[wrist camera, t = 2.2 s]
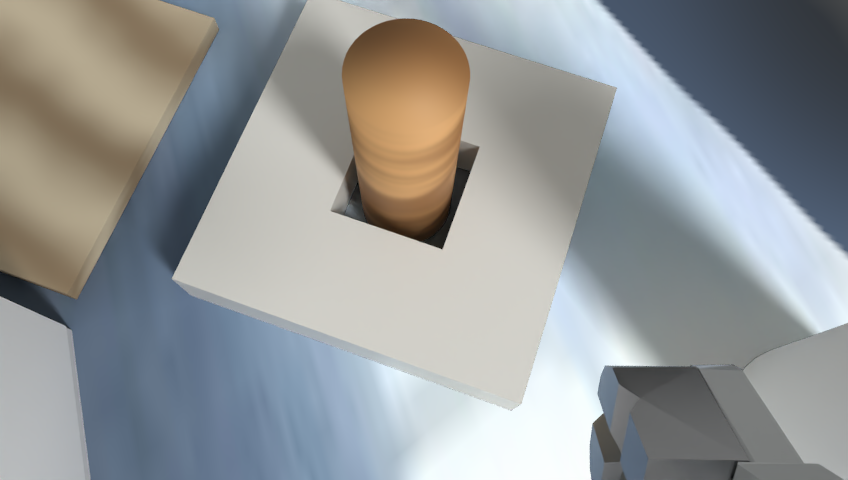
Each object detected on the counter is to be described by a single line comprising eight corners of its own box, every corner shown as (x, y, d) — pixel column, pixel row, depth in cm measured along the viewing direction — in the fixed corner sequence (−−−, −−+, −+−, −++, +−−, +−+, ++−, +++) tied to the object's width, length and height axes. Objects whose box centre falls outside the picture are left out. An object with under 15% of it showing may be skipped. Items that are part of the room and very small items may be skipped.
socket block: (511, 410, 33) (521, 403, 30) (191, 295, 34) (171, 278, 31) (601, 117, 38) (616, 87, 35) (318, 27, 39) (311, -9, 36)
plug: (433, 255, 35) (446, 147, 24) (349, 227, 35) (322, 106, 24) (461, 178, 36) (486, 40, 25) (380, 151, 37) (369, 3, 25)
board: (76, 299, 34) (67, 294, 33) (-215, 192, 35) (-233, 184, 34) (219, 29, 39) (214, 18, 38) (-42, -55, 40) (-53, -68, 39)
